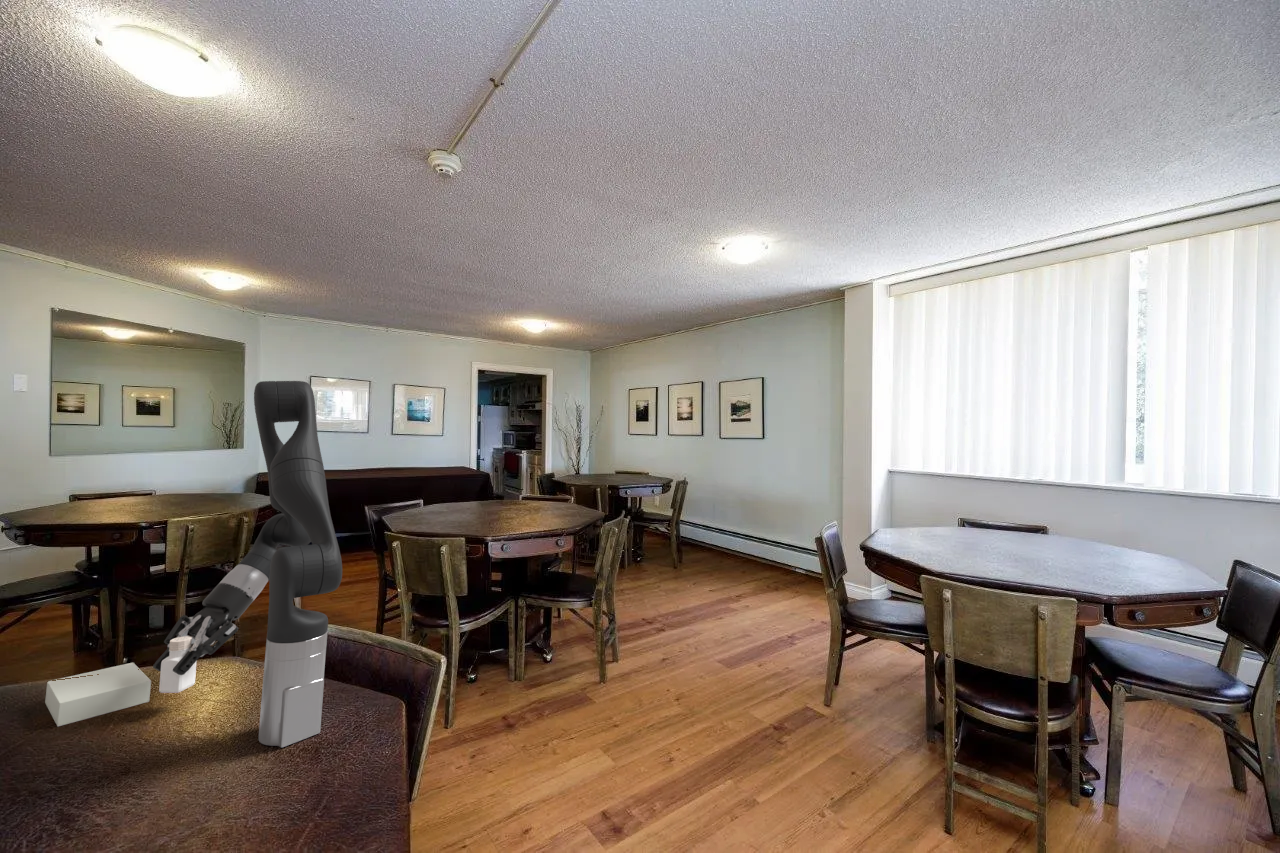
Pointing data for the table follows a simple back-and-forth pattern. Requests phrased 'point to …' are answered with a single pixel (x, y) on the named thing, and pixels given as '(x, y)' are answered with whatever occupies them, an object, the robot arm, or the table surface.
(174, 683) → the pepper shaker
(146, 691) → the platform
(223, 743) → the table surface
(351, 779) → the table surface
